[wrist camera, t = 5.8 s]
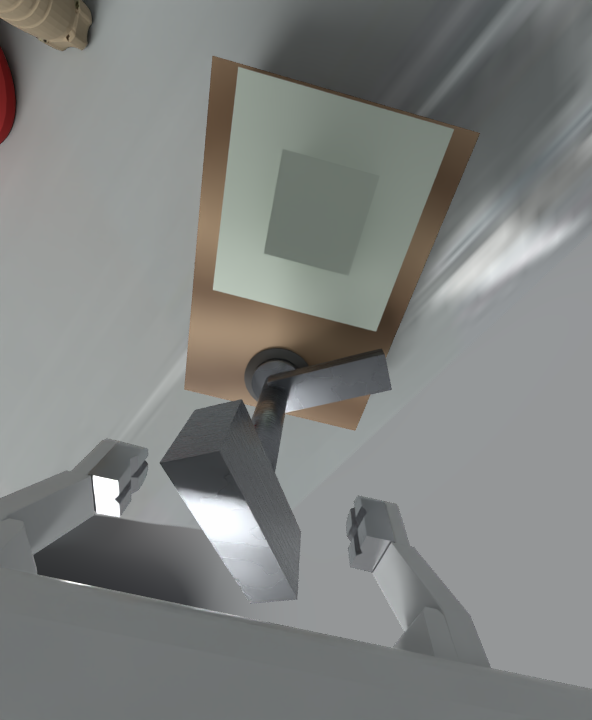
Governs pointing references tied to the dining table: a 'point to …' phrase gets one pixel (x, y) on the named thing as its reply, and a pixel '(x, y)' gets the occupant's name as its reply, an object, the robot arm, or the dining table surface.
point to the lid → (321, 199)
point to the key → (259, 467)
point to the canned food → (6, 98)
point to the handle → (50, 20)
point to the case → (280, 325)
